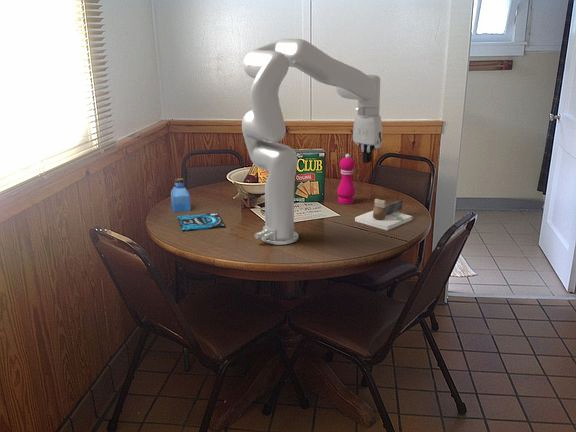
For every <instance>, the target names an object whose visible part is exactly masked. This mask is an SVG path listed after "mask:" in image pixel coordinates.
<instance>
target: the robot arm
mask: <svg viewBox="0 0 576 432" xmlns="http://www.w3.org/2000/svg"><path fill="white" fill-rule="evenodd" d="M242 63H243V65H242V67H243V70H244V73H245V74H246V75H248V77H250V78H252V79H254V80H253V82H252V85H251V88H250V93H249V99H250V105H251V110H248V111H247V112H246V113H245V114H244V115H243V118H242V121H241V131H242V135H243V139H244V142H245V146H246V149H247V153H248V156H249V158H250V161H251V162H252V164H253V165H254V166H255V167H256V168H259V169H261V170H264V171H267V172H268V176H267V178H266V180H265V185H264V216H265V217H264V218H265V219H264V226H262V230H261V231H258V232H256V233H254V238H255V239H256V240H258V239H260V240H261V241H263V242H264V243H266V244H271V245H277V246H278V245H280V246H281V245H289V244H293V243H295V242H297V241H298V240H299V234H298V232H296V231H295V180H296V174H297V173H296V172H297V170H298V169H297V168H298V165H299V164H298V163H299V160H298V155H297V153H296V151H295V150H294V149H293V148H292V147H291V146H289V145H286V144H283V143H280V142H281V141H283V140H284V138H285V136H286V133H287V132H286V131H287V129H286V125H285V124H286V123H285V120H284V119H285V118H284V115H283V112H282V108H281V103H280V99H279V91H280V87H281V84H282V83H283V81H284V79H285V78H286V76H287V74H288V71H289V67H291V68H295V69H297V70H299V71H300V72H302V73H304V74H305V75H307V76H308V77H311V78H312V79H313V80H315V81H317V82H318V83H321V84H325V85H328V86H331V87H336V88H335V89H336V93H337V95H338V96H340V97H341V98H343V99H347V100H354V101H355V100H357V106H356V107H355V111H357V113H356V114H355V117H354V122H353V127H352V141H353V142H354V144H355V145H357V146H359V148H360V150H361V152H362V163H365V164H369V163H372V161H373V151H375V149H380V148H381V147H382V144H381V143H382V141H383V123H382V117H381V115H380V105H381V104H380V103H381V101H380V100H381V99H380V98H381V77H380V76H379V75H376V74H366V73H365V72H363V71H361V70H359V69H358V68H356V67H354V66H351V65H349V64H346V63H344V62H342V61H340V60H338V59H335V58H333V57H332V56H330V55H328V54H327V53H326V52H324V51H323V50H322V49H319V48H318V47H317V46H315V45H314V44H312V43H311V42H309V41H307V40H306V39H302V38H282V39H279V40H276V41H274V42H270V43H268V44H266V45H263V46H260V47H257V48H254V49H252V50H250V51H249V52H248V53H247V54H246V55H245V56H244V59H243V62H242Z"/></svg>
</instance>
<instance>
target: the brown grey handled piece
mask: <svg viewBox="0 0 576 432" xmlns="http://www.w3.org/2000/svg"><path fill="white" fill-rule="evenodd" d="M403 201H404V200H402V199H399V200H396V201H393V202H390V203H387V204H386V202H387V201H386V200H384V199H383V200H382V199H379V198H374V205H373V210H372V211H373V218H375V219H384V218H385V216H386V215H388V214H391V213H394V212H398V211H401V210H403Z"/></svg>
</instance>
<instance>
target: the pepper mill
mask: <svg viewBox="0 0 576 432" xmlns="http://www.w3.org/2000/svg"><path fill="white" fill-rule="evenodd" d="M355 166H356V164H355V159H354V158H351V155H350V154H349V153H346V154H345V157H343V158H341V159H340V162H339V168H340V174H341V179H340V180H341V181H340V183H339V185H338V186H337V192H336V193H337V195H338V197H337V202H338V204H340V205H351V204H353V203H354V196H355V194H356V189H355V185H354V184H353V179H352V177H353V174H354V168H355Z"/></svg>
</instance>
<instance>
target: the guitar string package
mask: <svg viewBox="0 0 576 432" xmlns="http://www.w3.org/2000/svg"><path fill="white" fill-rule="evenodd" d="M177 220H178V221H177V222H178V223H179V226H180V229H181V231H182V232H183V233H184V232H192V231H203V230H204V231H205V230H213V229H223V228H225V229H227V226H226V224H225V223H224V221H223V219H222V218H221V216H220V214H219V213H218V212H209V213H201V214H199V213H198V214H187V215H178V216H177Z"/></svg>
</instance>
